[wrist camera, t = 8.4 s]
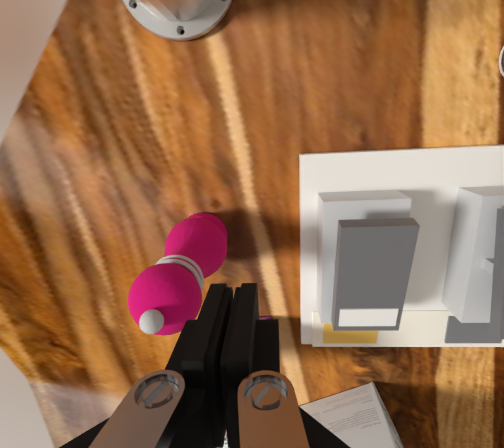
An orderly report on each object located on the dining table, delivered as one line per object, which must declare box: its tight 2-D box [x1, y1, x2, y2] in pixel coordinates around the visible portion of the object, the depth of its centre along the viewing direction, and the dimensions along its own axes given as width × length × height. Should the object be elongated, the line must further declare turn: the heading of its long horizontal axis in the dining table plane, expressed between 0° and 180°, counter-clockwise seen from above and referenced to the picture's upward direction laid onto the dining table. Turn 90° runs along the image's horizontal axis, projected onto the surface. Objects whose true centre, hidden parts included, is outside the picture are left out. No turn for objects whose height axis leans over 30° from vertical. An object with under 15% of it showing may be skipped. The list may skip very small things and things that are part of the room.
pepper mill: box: [128, 213, 228, 335], centre depth 32 cm, size 7×7×20 cm
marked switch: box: [331, 218, 420, 331], centre depth 33 cm, size 13×7×2 cm, turn 3°
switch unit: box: [299, 144, 504, 347], centre depth 37 cm, size 26×29×8 cm
